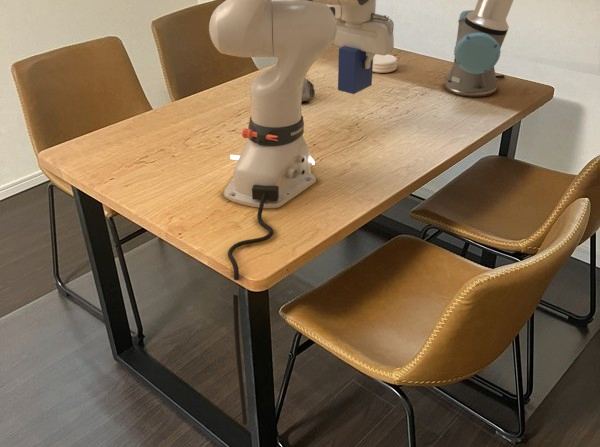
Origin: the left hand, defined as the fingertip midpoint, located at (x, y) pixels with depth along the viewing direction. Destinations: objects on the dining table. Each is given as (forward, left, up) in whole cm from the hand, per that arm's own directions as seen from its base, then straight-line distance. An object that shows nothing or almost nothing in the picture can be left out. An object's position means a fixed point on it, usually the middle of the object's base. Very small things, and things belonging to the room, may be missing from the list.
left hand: (355, 65), depth 160 cm
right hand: (+18, +13, +14) cm, 27 cm away
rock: (+11, +24, -16) cm, 31 cm away
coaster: (+46, +7, -16) cm, 49 cm away
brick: (0, 0, -6) cm, 6 cm away
